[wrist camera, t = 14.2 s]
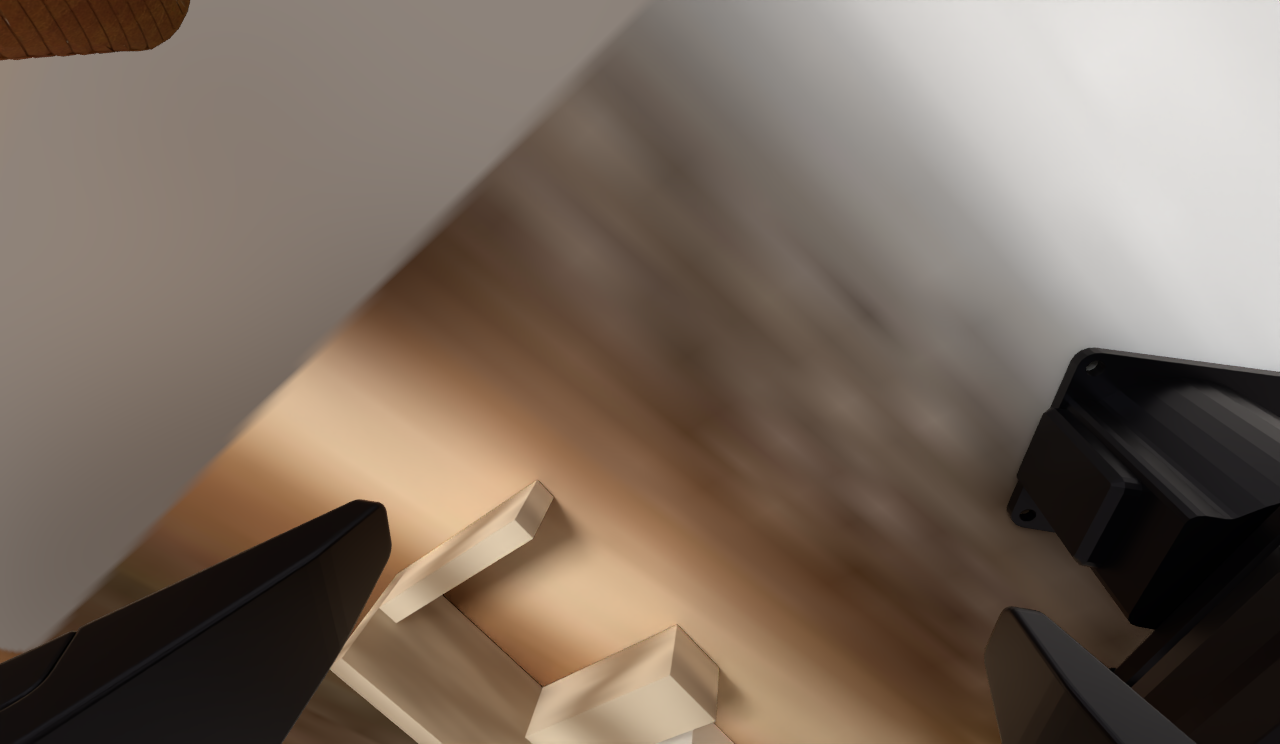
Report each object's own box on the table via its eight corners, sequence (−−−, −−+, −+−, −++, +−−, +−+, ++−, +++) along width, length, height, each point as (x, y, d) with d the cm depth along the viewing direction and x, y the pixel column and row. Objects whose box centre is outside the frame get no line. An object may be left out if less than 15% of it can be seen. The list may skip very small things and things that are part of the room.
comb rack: (537, 479, 24) (486, 569, 19) (833, 786, 28) (848, 915, 24) (397, 574, 27) (327, 667, 23) (678, 830, 32) (666, 950, 27)
